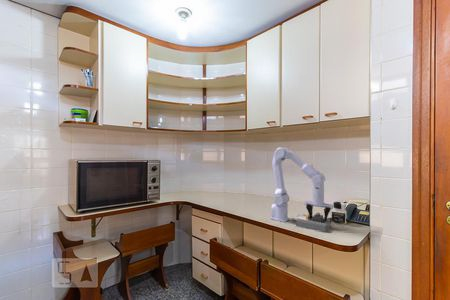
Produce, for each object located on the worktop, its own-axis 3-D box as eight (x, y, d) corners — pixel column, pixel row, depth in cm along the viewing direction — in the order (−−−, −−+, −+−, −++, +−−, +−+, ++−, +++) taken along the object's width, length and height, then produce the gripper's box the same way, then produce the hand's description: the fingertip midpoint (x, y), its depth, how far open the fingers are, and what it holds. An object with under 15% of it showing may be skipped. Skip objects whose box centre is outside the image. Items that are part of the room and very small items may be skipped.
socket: (296, 226, 124) (296, 218, 124) (303, 220, 133) (303, 214, 133) (325, 232, 115) (325, 224, 115) (330, 226, 124) (330, 219, 124)
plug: (313, 226, 122) (313, 213, 122) (315, 225, 125) (315, 211, 125) (321, 228, 120) (321, 214, 120) (323, 226, 123) (323, 213, 123)
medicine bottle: (331, 223, 129) (331, 202, 129) (333, 220, 135) (333, 200, 135) (345, 225, 125) (345, 204, 126) (346, 222, 131) (346, 202, 131)
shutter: (294, 218, 127) (294, 213, 127) (298, 215, 133) (298, 211, 133) (307, 221, 122) (307, 216, 122) (311, 218, 128) (311, 213, 128)
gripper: (334, 195, 121) (334, 220, 121) (307, 192, 130) (307, 215, 130) (331, 197, 116) (331, 223, 116) (303, 194, 124) (303, 218, 124)
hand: (318, 219), depth 122 cm, fingers open, 7 cm apart
